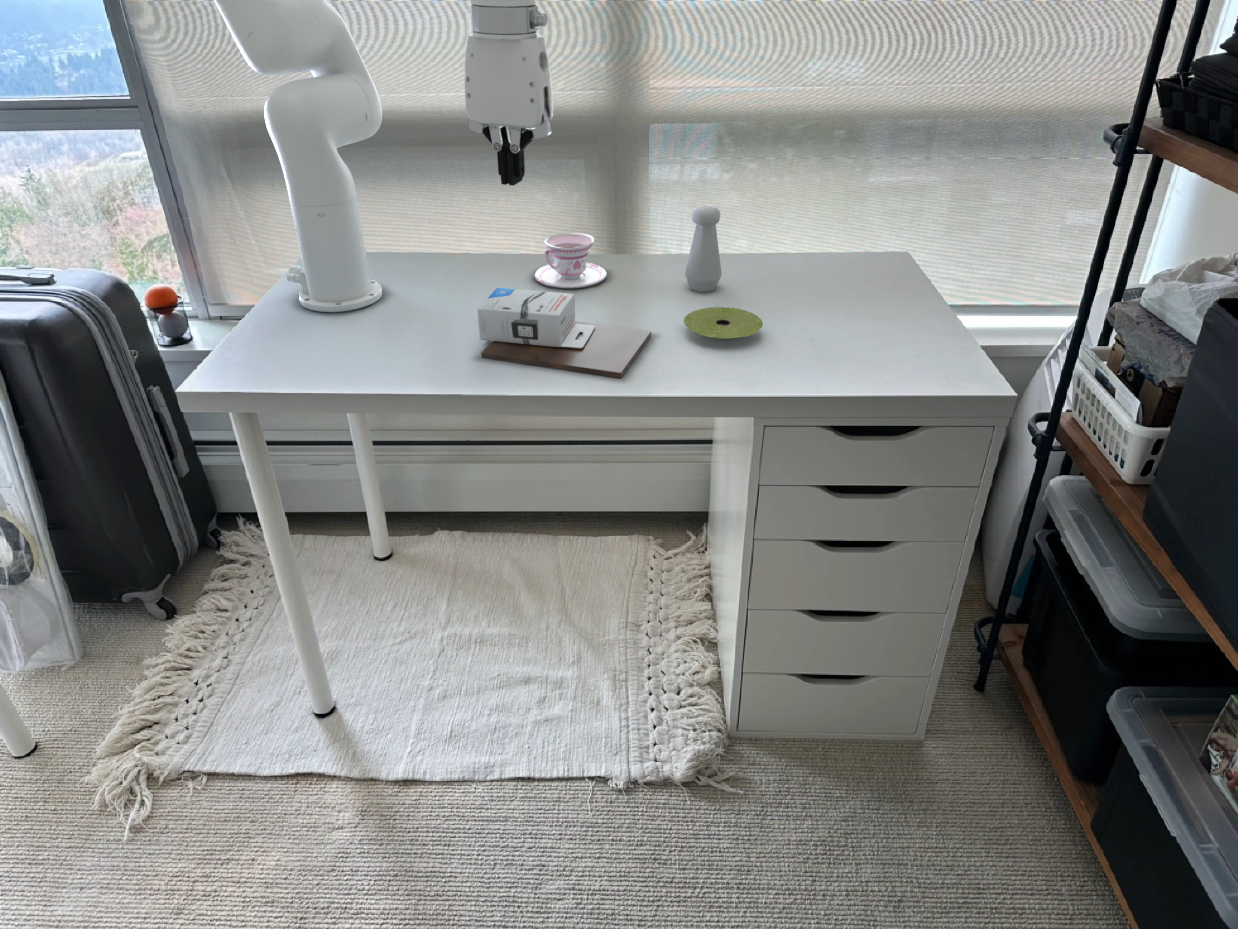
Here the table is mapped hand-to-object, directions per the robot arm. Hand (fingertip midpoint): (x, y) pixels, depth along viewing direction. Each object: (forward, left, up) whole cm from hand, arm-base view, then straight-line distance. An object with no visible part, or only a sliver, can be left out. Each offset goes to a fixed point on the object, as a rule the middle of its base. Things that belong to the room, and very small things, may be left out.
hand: (512, 181), depth 110 cm
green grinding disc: (+27, +11, -22) cm, 36 cm away
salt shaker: (+20, +28, -22) cm, 41 cm away
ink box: (-5, 0, -19) cm, 19 cm away
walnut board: (+7, 0, -22) cm, 23 cm away
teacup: (-2, +26, -22) cm, 34 cm away
